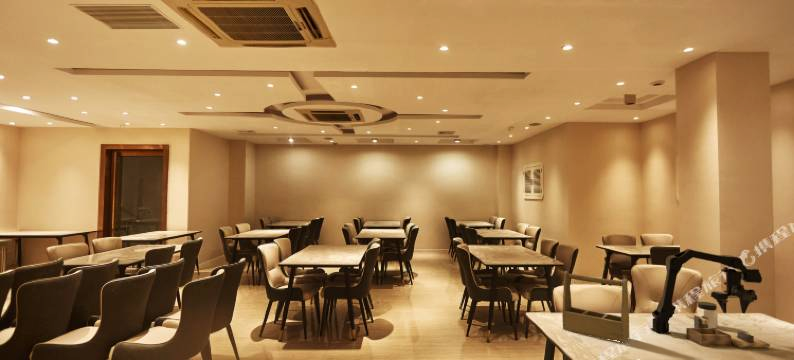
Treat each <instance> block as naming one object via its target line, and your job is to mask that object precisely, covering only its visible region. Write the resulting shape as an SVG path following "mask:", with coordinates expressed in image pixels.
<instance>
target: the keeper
mask: <svg viewBox="0 0 794 360" xmlns="http://www.w3.org/2000/svg"><path fill="white" fill-rule="evenodd" d="M702 318H705V319H707V320H708V318H707V317H705V316H702ZM693 321H694V322H693V328H708V324H702V323H700V317H697V316H694V320H693Z"/></svg>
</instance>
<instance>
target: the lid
mask: <svg viewBox="0 0 794 360" xmlns="http://www.w3.org/2000/svg"><path fill="white" fill-rule="evenodd" d="M736 332H737V334H736V335H737V336H736V335H735V336H733V335H731V343H732V344H734V345H736V346H738V347H761V348H764V347H766V348H769V347H771V344H770V343H768V342H766V341H763V340H760V339H758V338H755V336H754V335H751V334H749V333H748V332H744V331H736ZM738 347H737V348H738Z"/></svg>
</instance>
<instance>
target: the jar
mask: <svg viewBox="0 0 794 360" xmlns="http://www.w3.org/2000/svg"><path fill="white" fill-rule="evenodd" d="M696 315H697V316H700V317H702V316H705V317H707V318H708V320H709V324H708V328H715V329H717V328H718V324H719V322H718V315H719V314H718V307H717V304H716V303H714V302H710V301H698V302H697V307H696Z"/></svg>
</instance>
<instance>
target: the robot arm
mask: <svg viewBox="0 0 794 360" xmlns="http://www.w3.org/2000/svg"><path fill="white" fill-rule="evenodd" d="M693 258H694V259H699V260H704V261H708V262H713V263H718V264H721V265H723V266H724V267H723V268H721V269H720V271H721V272H723V273H725V281H724V282H723V284H724V285H726V287H725V289H726V290H723V291H724V292H722V291H716V290H715V291H711V293H710V297H711V298H713V299H714V300H716V302H717V304H718V305H719V307H720V308H721V310H722V313H723V314H727V303H728V302H729V300H728V298H729V299H730V298H732V299H733V298H738V300H739V305H740V311H741V313H742V314H746V312H747V309H748V307H749V305H750V304H751V303H754V302H755V301H758V296H757V294H756V291H755V290H754V289H746V288H745V286H744V284H742V281H743V282H745V283H750V284H761V283H762V281H763V277H762V274H761V273H760V269H758V268H747V267H746V266H745V265H744V261H743V260H742V259H741V258H740V257H737V256H734V255H731V254H730V255H727V254H714V253H710V252H709V253H708V252H704V251H700V250H694V249H691V248H687V249H685V250H682V251H680V252H677V253H675V254H673V255H672V254H671V255H668V256H667V257H666V259H665V269H666V274H665V275H666V276H665V280H664V281H665V282H664V285H663V287H664V288H663V289H662V290H663V291H662V297H661V299H660V300H659V302H658V303H657V307H656V309H655V310H653V311H652V312H651V314H652V315H651V316H652V317H653V318H652V327H651V328H650V330H651V329H652V330H651V331H652V332H655V333H656V334H671V332H670V323H669V321H670V319H671V318H673V316H674V315H675V316H676V314H675V311H676V305H674V304H673V298H674V293H675V288H676V282H677V278H678V277H677V276H678V274H679V273H680V272H681V270H682V267H683V265H684V264H686V263H688V261H690V260H691V259H693Z"/></svg>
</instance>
